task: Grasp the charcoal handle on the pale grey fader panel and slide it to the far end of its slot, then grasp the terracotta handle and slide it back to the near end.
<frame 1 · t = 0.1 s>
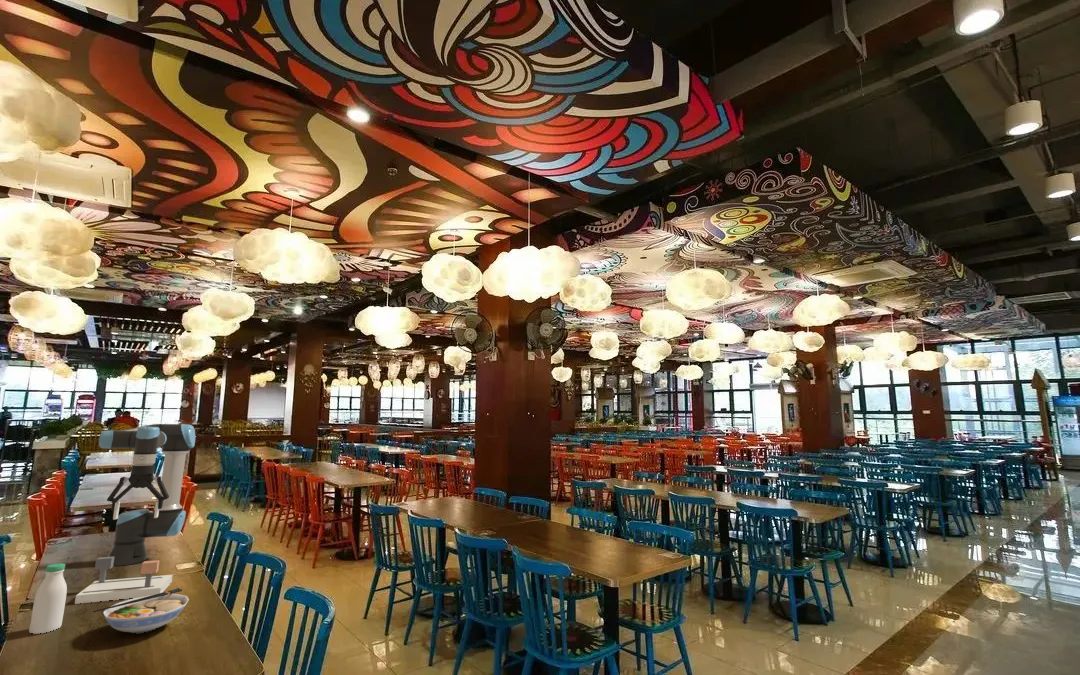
hand: (135, 518, 207), 28 cm above the table, tool pointing down, fingers open, 13 cm apart
ramen bowl: (144, 629, 168), on the table
fader b: (149, 573, 200), point 8 cm above the table, slide at 18.0 cm
milk bottle: (45, 630, 165), on the table
fader a: (103, 569, 204), point 8 cm above the table, slide at 0.0 cm
fader panel: (126, 592, 201), on the table
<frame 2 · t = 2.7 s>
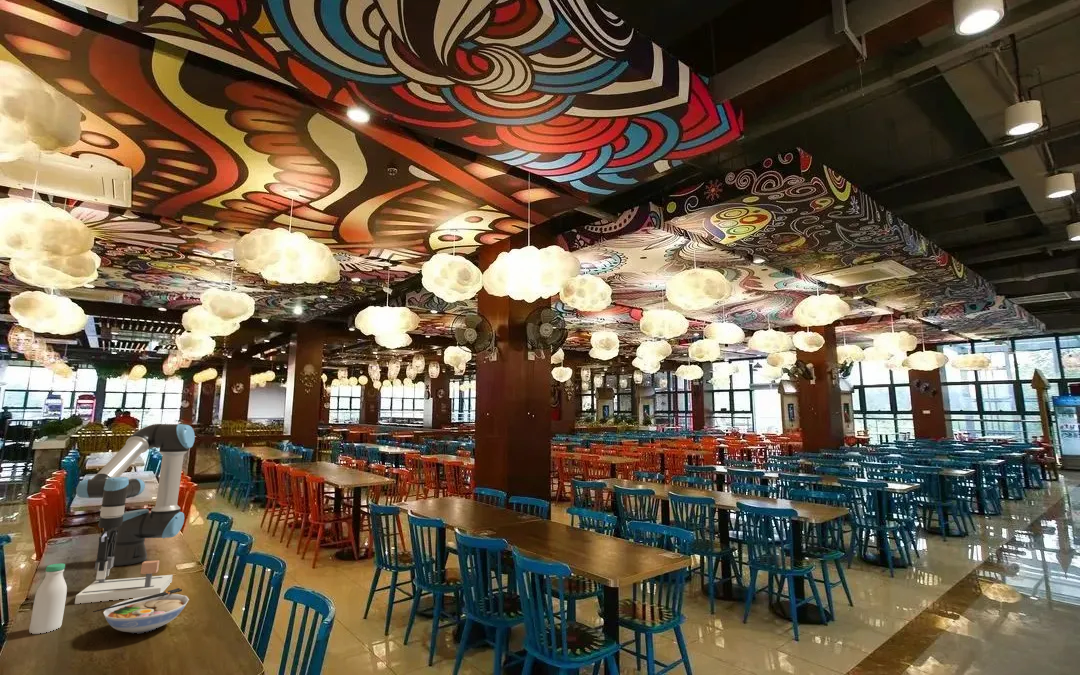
hand: (102, 577, 203), 5 cm above the table, tool pointing down, fingers closed on fader a, 3 cm apart
fader a: (103, 569, 204), point 8 cm above the table, slide at 0.0 cm, touching gripper
everything else where it was.
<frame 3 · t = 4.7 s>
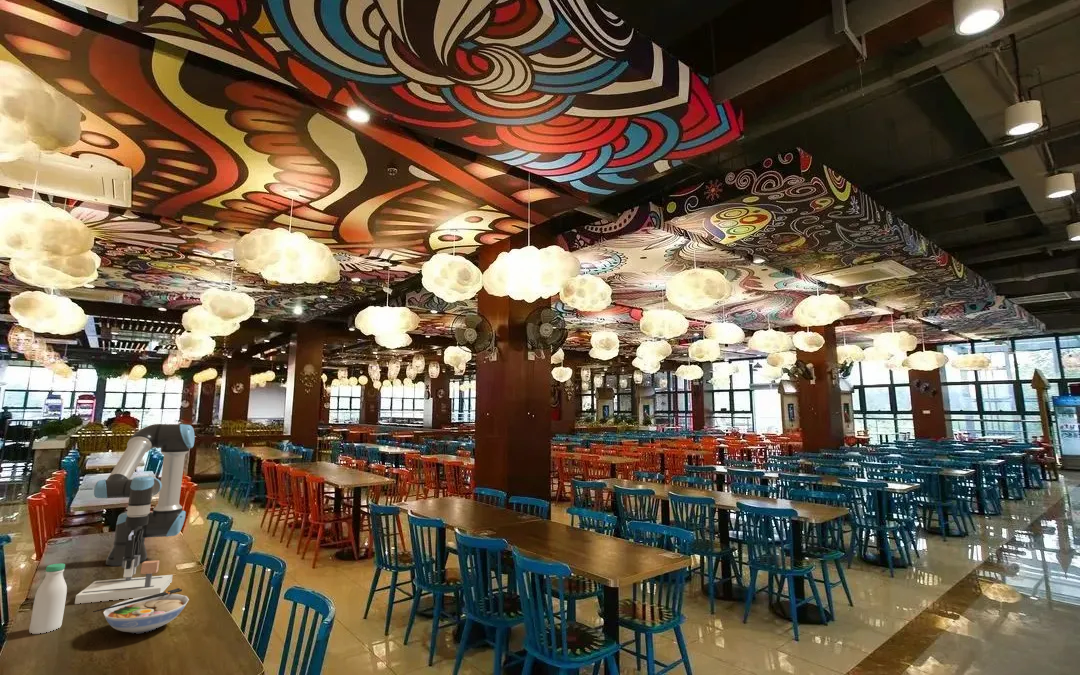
hand: (129, 575, 207), 5 cm above the table, tool pointing down, fingers closed on fader a, 3 cm apart
fader a: (130, 567, 207), point 8 cm above the table, slide at 8.7 cm, touching gripper
everything else where it was.
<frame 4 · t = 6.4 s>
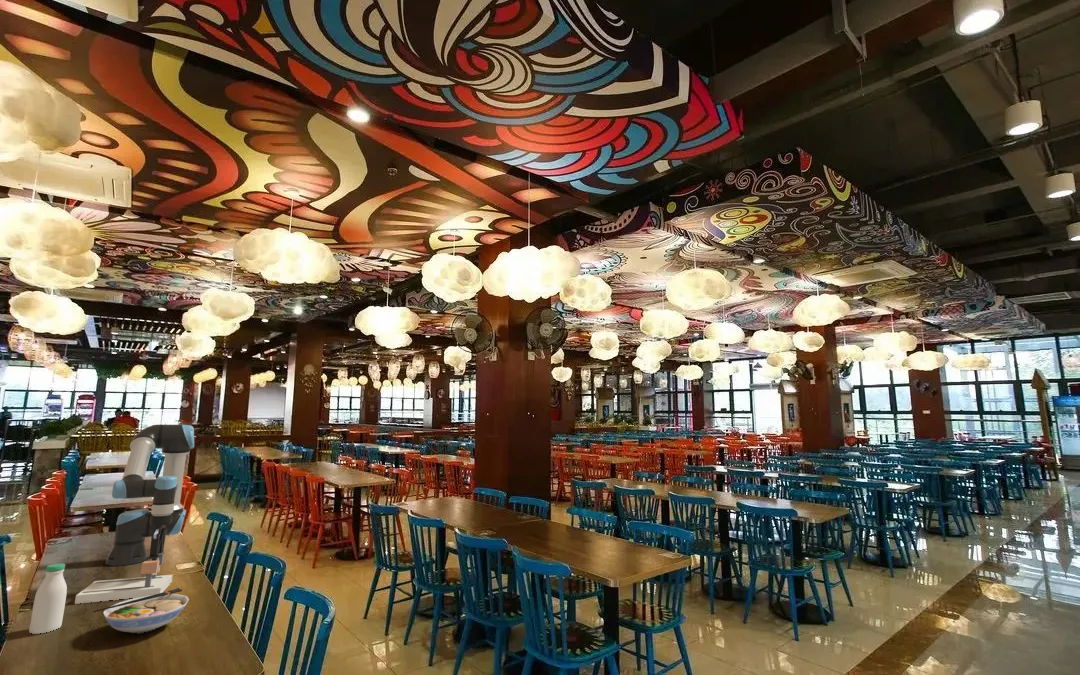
hand: (153, 573, 210), 5 cm above the table, tool pointing down, fingers closed on fader a, 3 cm apart
fader a: (154, 565, 210), point 8 cm above the table, slide at 16.9 cm, touching gripper
everything else where it was.
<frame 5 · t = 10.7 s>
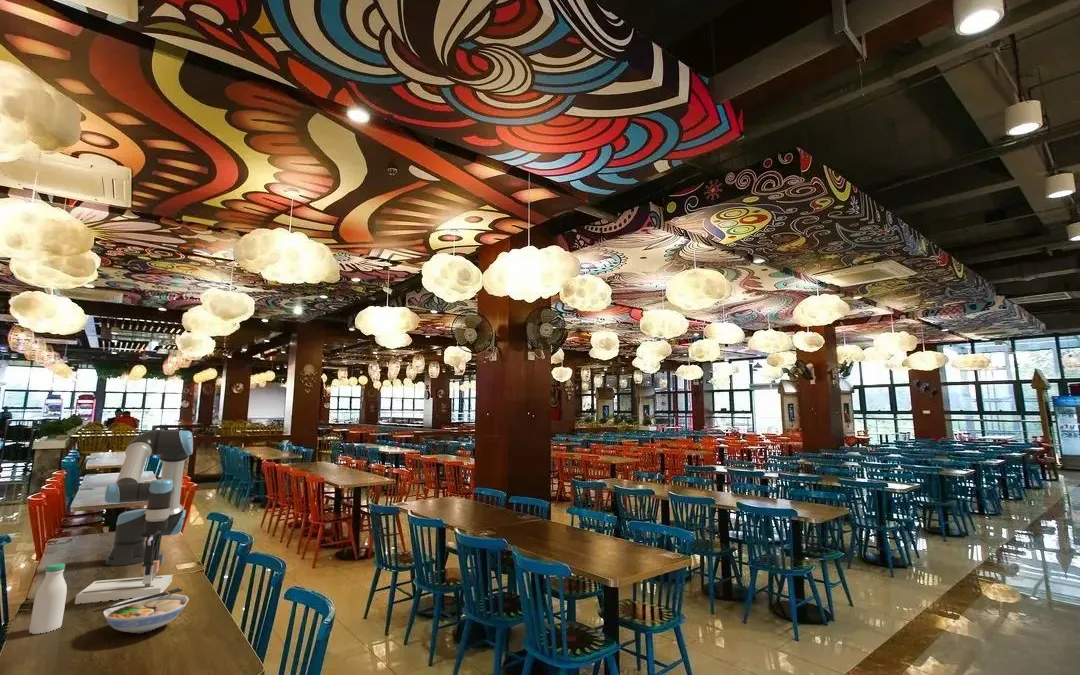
hand: (148, 581, 199), 5 cm above the table, tool pointing down, fingers closed on fader b, 3 cm apart
fader b: (149, 573, 200), point 8 cm above the table, slide at 18.0 cm, touching gripper
fader a: (154, 565, 210), point 8 cm above the table, slide at 16.9 cm
everything else where it was.
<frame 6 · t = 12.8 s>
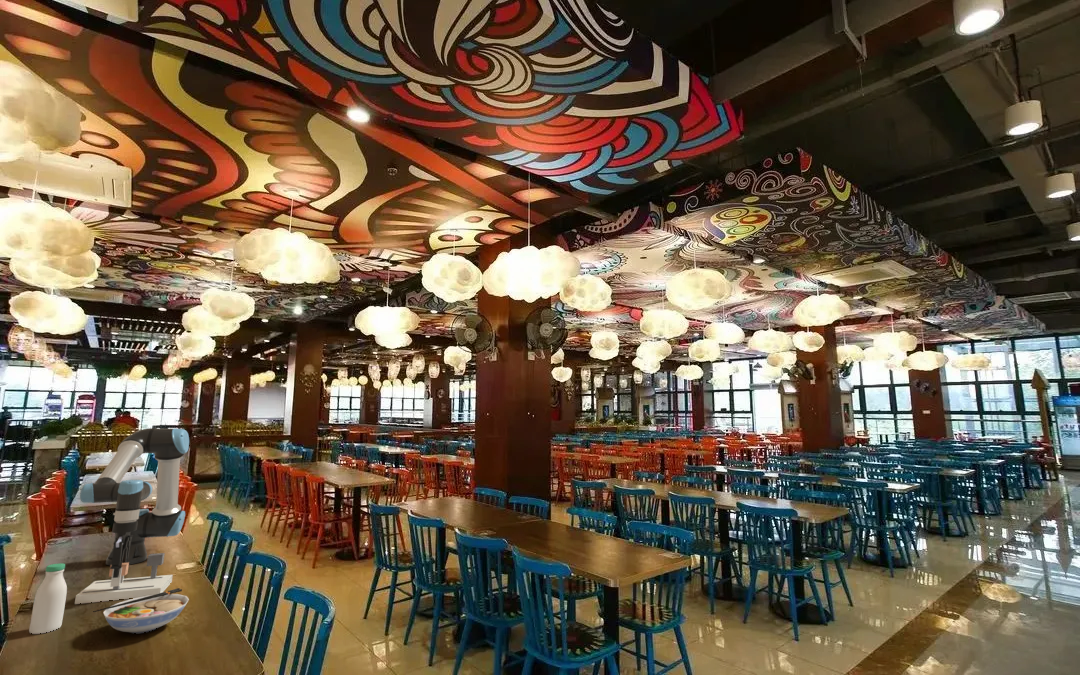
hand: (116, 584, 195), 5 cm above the table, tool pointing down, fingers closed on fader b, 3 cm apart
fader b: (118, 576, 196), point 8 cm above the table, slide at 8.1 cm, touching gripper
everything else where it was.
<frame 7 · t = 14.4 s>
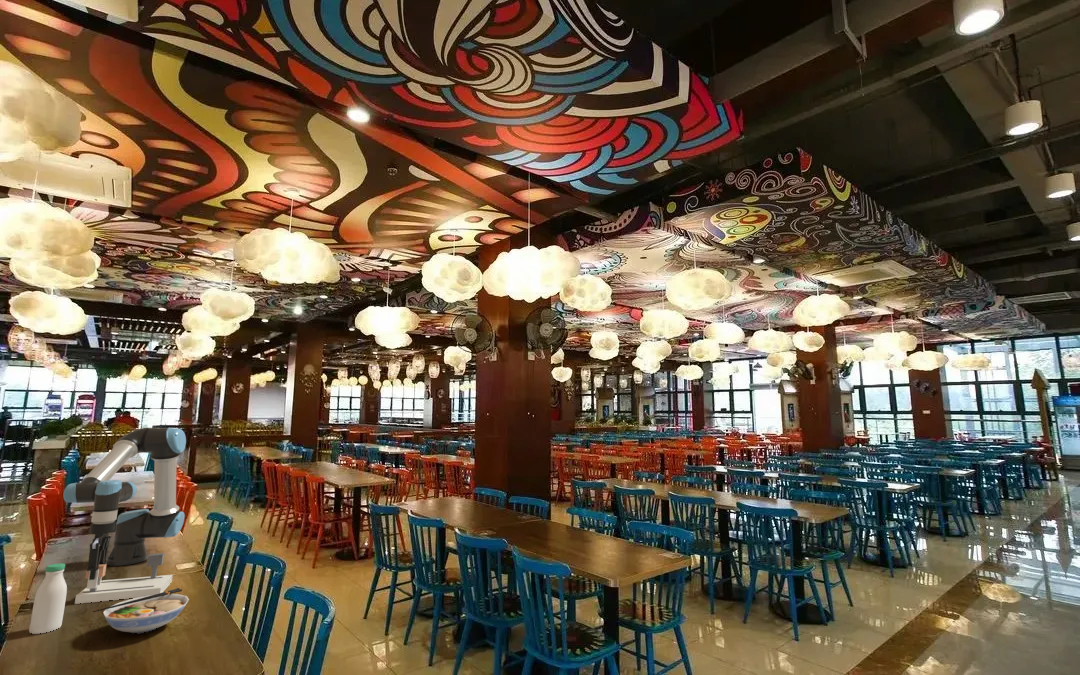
hand: (93, 586, 193), 5 cm above the table, tool pointing down, fingers open, 3 cm apart
fader b: (95, 578, 193), point 8 cm above the table, slide at 1.1 cm
everything else where it was.
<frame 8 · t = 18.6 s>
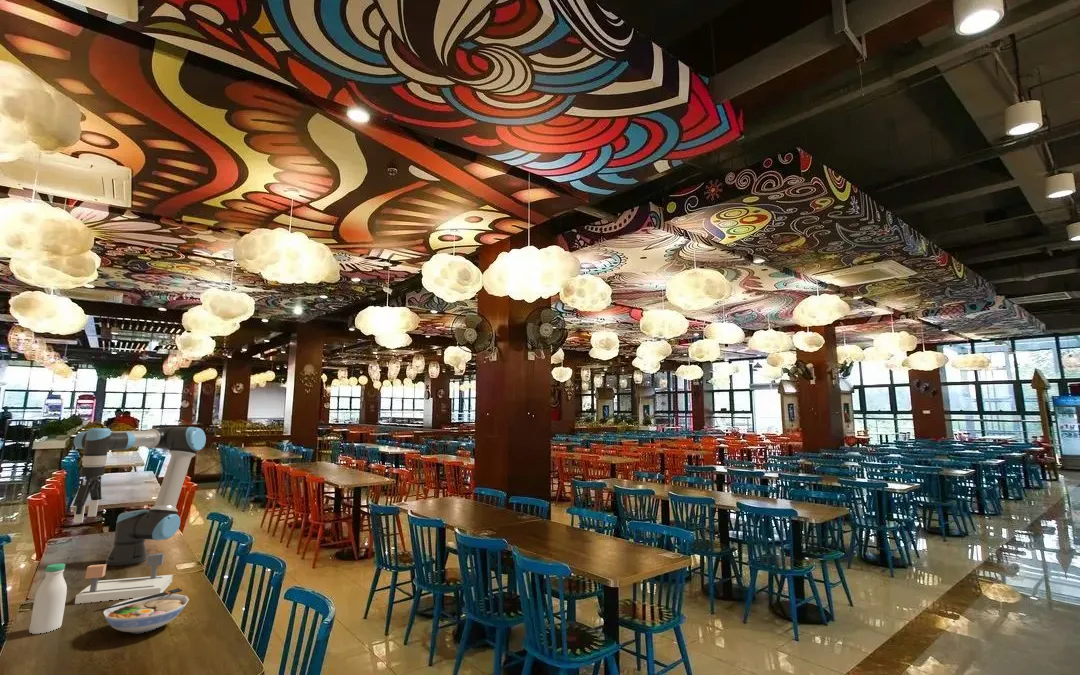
hand: (85, 519, 207), 27 cm above the table, tool pointing down, fingers open, 13 cm apart
nothing on the table moved.
at the end: fader a slide at 16.9 cm; fader b slide at 1.1 cm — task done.
